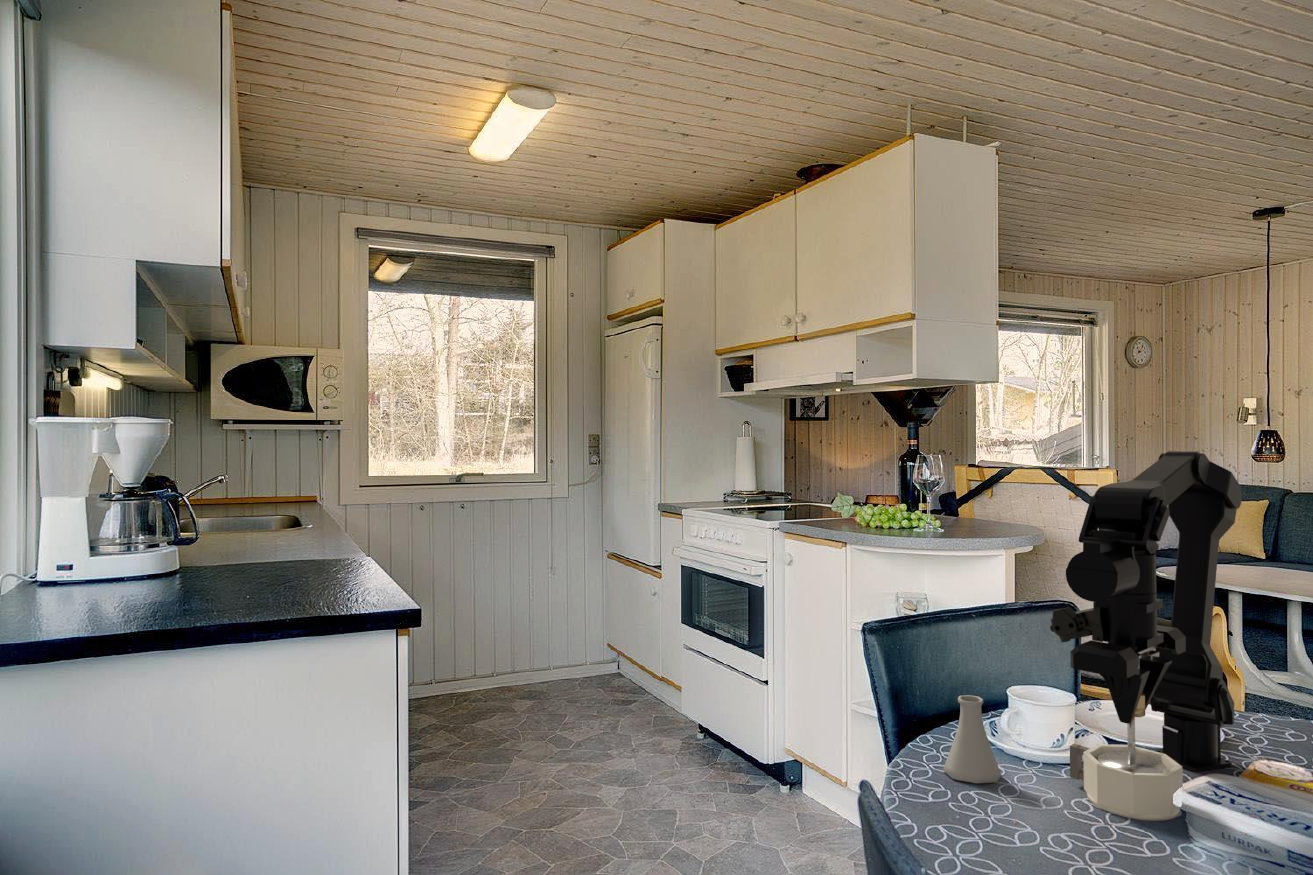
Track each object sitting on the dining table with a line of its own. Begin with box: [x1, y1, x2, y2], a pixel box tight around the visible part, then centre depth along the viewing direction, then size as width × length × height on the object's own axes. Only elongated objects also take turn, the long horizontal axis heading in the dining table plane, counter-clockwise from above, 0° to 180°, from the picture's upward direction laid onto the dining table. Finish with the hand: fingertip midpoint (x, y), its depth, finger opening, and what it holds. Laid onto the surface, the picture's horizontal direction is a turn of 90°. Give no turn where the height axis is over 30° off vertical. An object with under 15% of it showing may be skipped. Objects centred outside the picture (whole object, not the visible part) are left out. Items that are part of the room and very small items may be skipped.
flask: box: [942, 694, 1002, 784], centre depth 110 cm, size 7×7×10 cm
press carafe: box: [1069, 743, 1184, 822], centre depth 101 cm, size 10×12×5 cm
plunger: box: [1098, 693, 1167, 774], centre depth 101 cm, size 7×7×9 cm
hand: (1131, 719), depth 101 cm, fingers closed on plunger, 3 cm apart
